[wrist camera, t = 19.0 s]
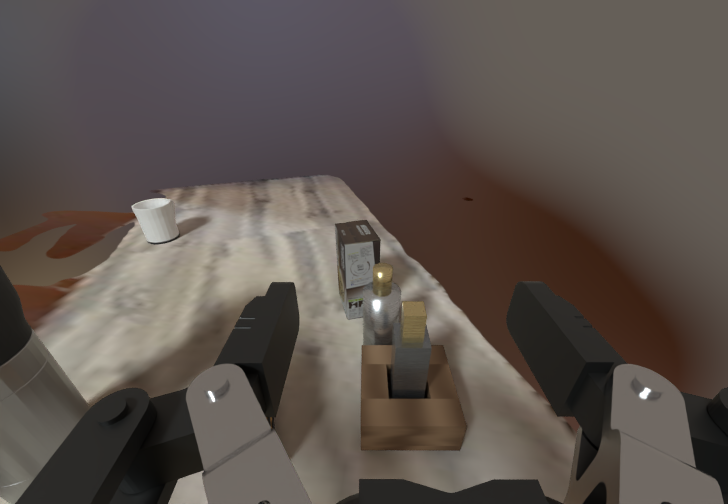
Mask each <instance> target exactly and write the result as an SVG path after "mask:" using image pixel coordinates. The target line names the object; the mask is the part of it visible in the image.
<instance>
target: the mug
mask: <svg viewBox="0 0 728 504" xmlns="http://www.w3.org/2000/svg"><path fill="white" fill-rule="evenodd" d="M132 209H133V211H134V213H135V215H136V217H137V219H138V221H139V223H140V225H141V228H142V230H143V232H144V235H145V237H146V239H147V241H148V242H149V243H151V244H163V243H167V242H171V241H173V240H175V239H177V238H178V237H179V235H180V233H179V230H178V227H177V224H176V221H175V203H174V201H173V200H171V199H166V198H157V199H150V200H144V201H141V202H138V203H136V204H134V205H133V206H132Z"/></svg>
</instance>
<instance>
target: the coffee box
mask: <svg viewBox="0 0 728 504" xmlns="http://www.w3.org/2000/svg"><path fill="white" fill-rule="evenodd" d="M335 234H336V250H337V266H338V281H339V294H340V297H341V300H342V303H343V307H344V310H345V313H346V316H347V319H353V318H359V317H363V289H364V287H365V285H366V284H368V283H370V282H372V281H373V266H374V265H375V264H378V263H380V241H381V240H380V238H379V237H378V235H377V234H376V233H375V231H374V230H373V228H372V227H371V226H370V224H369V223H368V221H367V220H360V221H352V222H346V223H339V224H335Z"/></svg>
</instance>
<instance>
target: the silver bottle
mask: <svg viewBox="0 0 728 504" xmlns="http://www.w3.org/2000/svg"><path fill="white" fill-rule="evenodd" d="M392 272H393V268H392V266H391V265H389V264H387V263H378V264H375V265H374V266H373V281H372V282H370V283H368V284H366V285H365V287H364V289H363V345H392V336H393V323H399V314H400V300H401V289H400V288H399V286H398V285H397V284H395V283H393V282H392Z"/></svg>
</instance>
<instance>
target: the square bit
mask: <svg viewBox="0 0 728 504" xmlns="http://www.w3.org/2000/svg"><path fill="white" fill-rule="evenodd" d="M426 319H427V315H426V310H425V306H424V302H411V301H402V312H401V323H393V336H392V352H391V369H390V399H424V395H425V388H426V382H427V375H428V369H429V362H430V356H431V349H432V348H431V343H430V339H429V335H428V330H427V326H426Z"/></svg>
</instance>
